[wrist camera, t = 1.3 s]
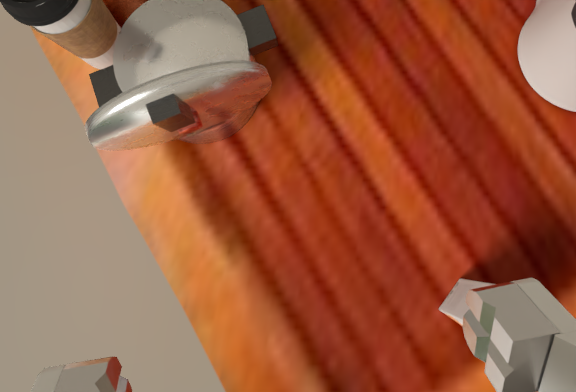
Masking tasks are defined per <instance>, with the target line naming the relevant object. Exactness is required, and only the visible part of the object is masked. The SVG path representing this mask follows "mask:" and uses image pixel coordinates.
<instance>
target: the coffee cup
mask: <svg viewBox="0 0 576 392" xmlns="http://www.w3.org/2000/svg"><path fill="white" fill-rule="evenodd" d="M0 2H1V3H2V5H3V7H4V8H5V10H6V11H7V12H8V13H9V14H10V15H12V16H13V17H14V18H15V19H16V20H18V21H19V22H21V23H23V24H26V25H29V26H31V27H32V28H33V29H34V30H36V31H37V32H39V33H41V34H42V35H44V36H45V37H47V38H49V39H50V40H52V41H53V42H55V43H57V44H58V45H60V46H61V47H63V48H65V49H66V50H68V51H69V52H71V53H73V54H74V55H76V56H78V57H79V58H81V59H82V60H84V61H85V62H87V63H88V64H90V65H91V66H93V67H95V68H97V69H104V68H106V67H109V66H111V65H113V53H114V47H115V43H116V40H117V37H118V34H119V32H120V30H121V27H120V26H119V25H118V23H117V22H116V21H115V19H114V17H113V16H112V14H111V13H110V11H109V10H108V8H107V7H106V6H105V4H104V3H103V1H102V0H0Z"/></svg>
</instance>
